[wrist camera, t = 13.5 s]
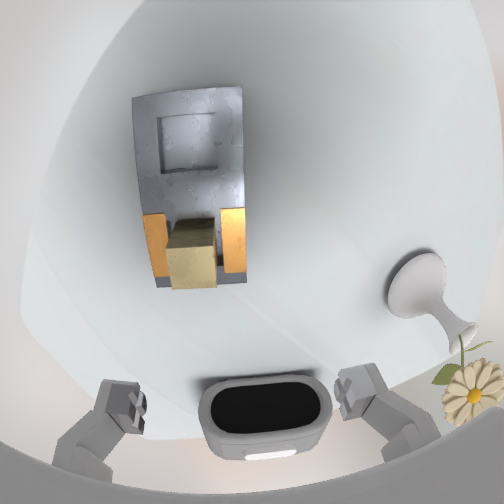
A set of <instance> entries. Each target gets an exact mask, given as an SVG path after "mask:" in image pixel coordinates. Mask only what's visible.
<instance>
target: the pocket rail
mask: <svg viewBox="0 0 504 504" xmlns="http://www.w3.org/2000/svg"><path fill="white" fill-rule="evenodd" d="M132 116H133V133H134V146H135V157H136V166H137V175H138V184H139V191H140V199H141V206H142V212H143V215H142V216H143V222H144V228H145V234H146V240H147V245H148V250H149V255H150V260H151V265H152V270H153V275H154V277H155V281H156V285H157V288H159V287H172V285H171V280H170V275H169V269H168V264H167V258H166V252H165V248H166V245H167V243H168V240H169V238H170V235H171V233H172V230H173V228H174V225H175V223H176V221H177V220H180V219H194V218H210V217H215V225H216V239H217V285H219V284H236V283H247V275H246V272H247V271H246V235H245V202H244V160H243V112H242V87H218V88H202V89H191V90H181V91H172V92H165V93H158V94H151V95H145V96H139V97H134V98H132Z"/></svg>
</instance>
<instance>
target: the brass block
mask: <svg viewBox="0 0 504 504" xmlns="http://www.w3.org/2000/svg"><path fill="white" fill-rule="evenodd" d="M165 252H166V258H167V264H168V269H169V275H170V280H171V285H172V289H194V288H213V287H217V239H216V225H215V217H210V218H194V219H180V220H177V221H176V223H175V225H174V228H173V230H172V233H171V235H170V238H169V240H168V243H167V245H166V248H165Z"/></svg>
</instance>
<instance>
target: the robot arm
mask: <svg viewBox="0 0 504 504" xmlns="http://www.w3.org/2000/svg"><path fill="white" fill-rule="evenodd" d="M338 376H339V378H338V379H337V380H336V381H335V384H334V394H335V398H336V400H337V401H338V402H339V403H341V406H340V408H339V409H340V412H341V415H342V418H343V421H346V420H350V419H355V418H359V417H362V419H364V420H365V421H366V422H367V423H368V424H369V425H371V426H372V427H373V428H374V429H375V430H376V431H378V432H379V433H380V434H381V435H382V436H384V437H385V438H386V439H387V440H388V441H389V442H388V443H387V444H386V445H385V446H384V447H383V448H382V450H381V452H382V456H383V458H384V461H385V463H383V464H380V465H377V466H374V467H372V468H369V469H366V470H363V471H359V472H356V473H353V474H350V475H346V476H343V477H339V478H335V479H331V480H327V481H323V482H318V483H314V484H309V485H304V486H298V487H293V488H286V489H279V490H271V491H263V492H252V493H236V494H191V493H175V492H174V493H173V492H164V491H155V490H148V489H141V488H135V487H129V486H124V485H119V484H114V483H112V474H113V470H112V469H111V468H110V467H109V466H108V465H106V464H105V463H104V462H103V461H104V459H105V458H106V457H107V456H108V454H109V453H110V452H111V451H112V449H113V448H114V447H115V446H116V444H117V443H118V442H119V441H120V440H121V438H122V437H123V435H125V433H130V434H141V435H143V431H144V424H145V421H144V420H143V418H142V416H143V415H144V414H145V413H146V409H147V402H146V397H145V395H144V393H143V392H142V391H140V385H139V384H138V382H127V381H116V380H108V379H104V380H103V381H102V382H101V385H100V389H99V392H98V396H97V399H96V403H95V406H94V410H93V411H92V410H90V411H89V412H88V413H87V414H86V415H85V416H84V417H83V418H82V419H80V420H79V421H78V422H77V423H76V424H75V425H74V426H73V427H72V428H70V429H69V430H68V431H67V432H66V433H65V434H64V435H63V436H62V437H61V438H60V439H59V440H58V442H57V446H56V450H55V454H54V458H53V462H52V465H50V464H48V463H45V462H43V461H40V460H38V459H36V458H33V457H31V456H29V455H26V454H24V453H22V452H20V451H18V450H16V449H14V448H11V447H10V446H8V445H6V444H4V443H2V442H0V504H504V409H502V408H500V407H497V406H491V407H489V408H487V409H486V410H484V411H483V412H482V413H480V414H479V415H477V416H476V417H474V418H473V419H471V420H469V421H468V422H466V423H465V424H463V425H461V426H460V427H458V428H456V429H455V430H453V431H451V432H450V433H448V434H446V435H444V436H442V437H441V435H440V432H439V430H438V428H437V427H436V424H435V422H434V421H433V418H432V417H431V415H430V414H429V413H427V412H426V411H424V410H422V409H421V408H419V407H418V406H416V405H414V404H412V403H411V402H409V401H408V400H406V399H404V398H403V397H401V396H400V395H398V394H397V393H395V392H393V391H389V390H388V388H387V386H386V384H385V382H384V380H383V378H382V376H381V374H380V372H379V370H378V368H377V366H376V364H374V363H368V364H364V365H359V366H354V367H350V368H345V369H341V370H340V371H339V373H338Z"/></svg>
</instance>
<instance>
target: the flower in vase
mask: <svg viewBox="0 0 504 504" xmlns="http://www.w3.org/2000/svg"><path fill="white" fill-rule="evenodd" d="M446 275H447V272H446V266H445V264H444V262H443V260H442V258H441V257H440V256H438V255H437V254H433V253H427V254H421V255H419V256H416V257H414V258H413V259H411V260H410V261H408V262H407V263H406V264H405V265H404V266H403V267H402V268H401V269H400V270H399V272H398V273H397V274H396V276H395V277H394V279H393V281H392V283H391V286H390V288H389V292H388V307H389V310H390V311H391V313H392V314H394V315H395V316H397V317H400V318H404V319H407V318H415V317H418V316H421V315H424V314H428V313H429V314H432V315H433V316H434V317H435V318H436V319H437V320H438V321H439V322H440V324H441V325H442V327H443V328H444V330H445V332H446V334H447V336H448V339H449V352H450V353H451V354H454V353H457V352H459V351H460V350H461V366H459V365H457V364H447V365H445V366H444V367H443V368H442V369H441V370H440V372H439V373H438V374H437V376H436V377H435V378H434V380H433V382H432V384H436V385H448V384H449V385H448V386H447V389H446V390H445V394H444V395H443V396H442V402H443V404H444V405H445V406H444V407H443V411H444V413H445V414H446V415H445V419H446V420H447V422H448V423H452V422H454V425H455V426H459V425H463V424H465V423H466V422H468V421H469V420H471V419H473V418H474V417H476V416H477V415H479V414H480V413H482V412H483V411H484V410H486V409H487V408H489V407H491V406H497V407H499V405H500V404H499V401H501V399H502V396H504V376H503V375H502V372H503V371H502V369H500V365H499V364H496V365H494V366H493V362H492V361H489V362H488V363H487V364H486V360H485V359H484V358H481V359H480V360H476V361H475V362H474V363H472V362H471V363H469V364H468V366H466V367H465V368H464V350H463V348H464V347H465V346H466V345H467V344H468V343H469V342H470V341H471V340H472V338H473V337H474V335H475V333H476V331H477V327H478V326H477V323H471V322H466V321H464V320H462V319H460V318H459V317H457V316H456V315H455V314H454V313H453V312H452V311H451V310H450V309H449V308H448V307H447V306H446V305H445V303H444V301H443V293H444V289H445V285H446ZM489 342H490V341H489ZM485 343H488V342H484V343H482V344H480V345H477V346H475V347H474V348H471V349H469V350H467V351H471V350H474V349H477V348H478V347H480V346H482V345H483V344H485ZM461 367H462V368H461Z"/></svg>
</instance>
